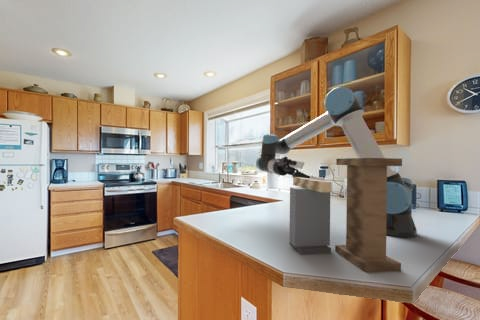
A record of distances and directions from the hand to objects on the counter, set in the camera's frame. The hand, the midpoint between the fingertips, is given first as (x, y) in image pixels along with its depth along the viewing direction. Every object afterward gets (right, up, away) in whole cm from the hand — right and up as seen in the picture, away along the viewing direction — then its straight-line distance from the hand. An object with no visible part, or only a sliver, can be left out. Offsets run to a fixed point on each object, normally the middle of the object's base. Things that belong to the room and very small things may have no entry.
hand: (312, 173), depth 96 cm
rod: (-6, -4, -17) cm, 19 cm away
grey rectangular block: (-6, -24, -17) cm, 30 cm away
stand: (+7, -24, -27) cm, 37 cm away
